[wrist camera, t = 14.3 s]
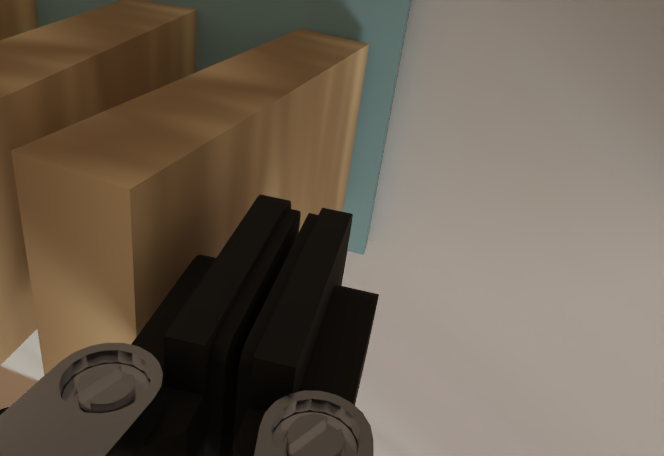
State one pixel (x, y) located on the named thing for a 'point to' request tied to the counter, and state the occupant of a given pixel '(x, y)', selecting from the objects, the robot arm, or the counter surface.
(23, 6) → the domino
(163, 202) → the domino
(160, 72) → the domino
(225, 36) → the board
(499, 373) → the counter surface
